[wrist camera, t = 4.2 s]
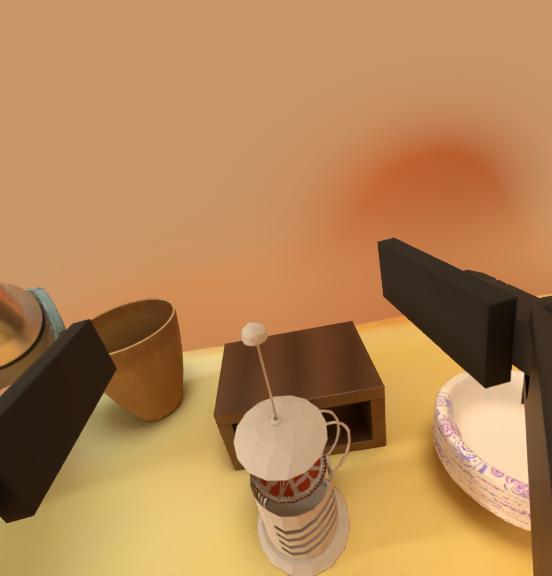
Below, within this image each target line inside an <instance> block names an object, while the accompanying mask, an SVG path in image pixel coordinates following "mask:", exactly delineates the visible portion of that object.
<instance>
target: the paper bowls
mask: <svg viewBox="0 0 552 576" xmlns="http://www.w3.org/2000/svg"><path fill="white" fill-rule="evenodd" d="M523 379H524V372H522V371H517V370H512V371H511V382H508V383H504V384H501V385H497V386H494V387H490V388H486V389H485V388H484V387H483V386H482V385H480V384H479V383H478V382H477V381H476V380H475V379H474V378H473V377H472V376H471V375H469V374H468V373H467V372H466V371H465V372H462V373H459V374H457V375H455V376H453V377H452V378H450V379H449V380H448V381H447V382H446V383H445V384H444V385H443V386H442V388H441V389H440V391H439V393H438V395H437V397H436V402H435V412H434V419H433V439H434V444H435V448H436V451H437V454H438V456H439V458H440V460H441V462H442V464H443V465H444V467H445V469H446V470H447V472H448V473H449V475H450V476H451V477H452V479H453V480H454V481H455V482H456V483H457V484H458V485H459V487H461V488H462V489H463V490H464V491H465V492H466V493H467V494H468V495H469V496H470V497H471V498H472V499H474V500H475V501H476V502H477V503H478V504H480V505H481V506H483V507H484V508H486V509H487V510H489V511H490V512H492V513H494V514H495V515H496V516H498V517H500V518H502V519H503V520H505V521H507V522H509V523H511V524H513V525H515V526H517V527H520V528H522V529H525V530H528V531H531V519H530V501H529V483H528V464H527V446H526V427H525V409H524V404H521V398H522V389H523Z"/></svg>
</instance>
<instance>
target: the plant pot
mask: <svg viewBox="0 0 552 576" xmlns="http://www.w3.org/2000/svg"><path fill="white" fill-rule="evenodd" d="M91 322H92V324H93V325H94V327H95V329H96V331H97V333H98V335H99V336H100V338H101V340H102V342H103V344H104V346H105V347H106V349H107V351H108V353H109V355H110V357H111V358H112V360H113V362H114V364H115V366H116V368H117V370H116V372H115V373H114V375H113V377H112V379H111V380H110V382H109V384H108V386H107V387H106V389H105V391H104V393H106V394H107V395H108V396H109V397H110V398H111V399H113V400H114V401H115V402H116V403H118V404H119V405H120V406H122V407H123V408H124V409H126V410H127V411H129V412H130V413H132V414H133V415H135V416H137V417H138V418H140V419H141V420H144V421H155V420H159V419H161V418H163V417H165V416H167V415H169V414H170V413H171V412H173V411H174V410H175V409H176V408H177V406H178V405H179V404H180V402H181V399H182V393H183V355H182V344H181V337H180V331H179V325H178V320H177V315H176V310H175V306H174V304H173V303H172V302H171V301H169V300H165V299H160V298H149V299H142V300H137V301H132V302H129V303H126V304H122V305H120V306H117V307H114V308H112V309H109V310H107V311H105V312H103V313H101V314H99V315H98V316H96V317H94V318H92V319H91Z"/></svg>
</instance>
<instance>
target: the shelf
mask: <svg viewBox="0 0 552 576" xmlns="http://www.w3.org/2000/svg"><path fill="white" fill-rule="evenodd" d="M259 347H260V351H261V355H262V359H263V363H264V366H265V370H266V374H267V378H268V382H269V386H270V390H271V394H272V397H276V396H290V395H291V396H295V397H299V398H303V399H306V400H307V401H309V402H310V403H312V404H313V405H314V406H316V407H317V408H318V409H319V410H330V411H332V412H333V413H334V414H335V415H336V416H337V418H338V419H339V422H343V423H344V424H345V425H347V426H348V428H349V430H350V437H351V443H350V448H349V451H355V450H361V449H367V448H374V447H380V446H386V423H385V391H384V385H383V383H382V381H381V379H380V377H379V374H378V372H377V370H376V368H375V366H374V364H373V362H372V360H371V358H370V356H369V354H368V352H367V350H366V348H365V346H364V344H363V342H362V340H361V338H360V336H359V334H358V332H357V330H356V328H355V326H354V324H353V322H352V321H350V322H344V323H338V324H333V325H327V326H322V327H316V328H311V329H305V330H300V331H294V332H289V333H283V334H278V335H272V336H268V338H267V339H266V341H264V342H263V343H261V344H259ZM267 399H270V395H269V392H268V388H267V384H266V380H265V376H264V372H263V368H262V365H261V361H260V357H259V353H258V349H257V345H256V346H248V345H246V344H244V343H243V341H239V342H233V343H228V344H225V346H224V353H223V359H222V366H221V372H220V379H219V385H218V392H217V398H216V405H215V411H214V418H215V420H216V423H217V425H218V428H219V431H220V433H221V436H222V438H223V441H224V443H225V446H226V448H227V451H228V453H229V456H230V459H231V461H232V464H233V466H234V469H235V470H241V469H245V468H244V467H243V465H242V464H241V463H240V462H239V460H238V459H237V455H236V451H235V446H234V438H235V434H236V429H237V426H238V424H239V423H240V421H241V420H242V418H243V417H244V415H245V414H246V413H247V412H248V411H249V410H250V409H252V408H253V407H254V406H255V405H257V404H258V403H259V402H262V401H265V400H267ZM321 414H322V416H323V417H324V419H325V421H326V423H327V422H331V421H336V419H335V418H334V416H333V415H332V414H330V413H325V412H322V413H321ZM339 425H340V424H339ZM326 428H327V438H328V439H327V442H326V444H325V447H324V450H325V452H326V454H327V453H328V452H329V451H330V450H331V448H332V446H333V444H334V443H335V440H336V436H337V424H331V425H327V426H326ZM347 445H348V432H347V431H346V429H345V427H343V426H342V425H340V433H339V438H338V441H337V443H336V445H335V447H334V449H333V450H332V452H331V453H330V454H329V455H331V454H337V453H343V452H346V448H347ZM349 451H348V452H349Z"/></svg>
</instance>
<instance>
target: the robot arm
mask: <svg viewBox="0 0 552 576" xmlns="http://www.w3.org/2000/svg"><path fill="white" fill-rule="evenodd" d="M378 251H379V261H380V270H381V279H382V288H383V296H384V297H385V298H386V299H387V300H388V301H389V302H390V303H391V304H392V305H394V306H395V307H396V308H397V309H398V310H399V311H400V312H401V313H402V314H403V315H404V316H406V317H407V318H408V319H409V320H410V321H411V322H412V323H413V324H414V325H415V326H417V327H418V328H419V329H420V330H421V331H422V332H423V333H424V334H425V335H427V336H428V337H429V338H430V339H431V340H432V341H433V342H434V343H435V344H436V345H438V346H439V347H440V348H441V349H442V350H443V351H444V352H445V353H446V354H447V355H449V356H450V357H451V358H452V359H453V360H454V361H455V362H456V363H457V364H458V365H460V366H461V367H462V368H463V369H464V370H465V371H466V372H467V373H468V374H469V375H471V376H472V377H473V378H474V379H475V380H476V381H477V382H478V383H479V384H480V385H482V386H483V387H484V388H485V389H486V388H490V387H494V386H497V385H501V384H504V383H508V382H511V371H512V364H513V365H514V366H515V367H517V368H518V369H519V370H521V371H522V372H524V379H523V389H522V398H521V404H524V409H525V427H526V446H527V464H528V483H529V501H530V519H531V538H532V556H533V575H534V576H552V296H547V297H542V298H538V297H536V296H533V295H531V294H529V293H527V292H524V291H522V290H520V289H518V288H516V287H513V286H511V285H509V284H508V285H506V283H504V282H502V281H500V280H496V278H493V277H491V276H489V275H487V274H484V273H480V272H476V271H471V270H465V271H462V270H460V269H458V268H456V267H454V266H452V265H450V264H448V263H446V262H443V261H442V260H439V259H437V258H435V257H433V256H431V255H429V254H427V253H425V252H423V251H421V250H419V249H416V248H414V247H412V246H410V245H408V244H406V243H404V242H402V241H400V240H398V239H396V238H391V239H387V240H383V241H379V242H378ZM116 370H117V368H116V366H115V364H114V362H113V360H112V358H111V357H110V355H109V353H108V351H107V349H106V347H105V346H104V344H103V342H102V340H101V338H100V336H99V335H98V333H97V331H96V329H95V327H94V325H93V324H92V322H91V320H90V319H88V320H84V321H81V322H77V323H73V324H72V325H71V326H70V327H69V328H68V329H67V330H66V328H65V325H64V323H63V321H62V319H61V317H60V314H59V312H58V310H57V308H56V307H55V305H54V303H53V301H52V299H51V297H50V296H49V294H48V293H47V292H46V291H45V290H44V289H43V288H40V287H37V288H33V289H26V290H24V289H22V288H19V287H17V286H14V285H11V284H6V283H0V390H1V389H3V388H5V387H7V386H9V385H11V384H12V385H11V386H10V387H9V388H8V389H7V390H6V391H5V392H4V393H3V394H2V395H1V396H0V517H1V518H2V519H3V520H4V521H5V522H6V523H10V522H13V521H17V520H20V519H24V518H27V517H31V516H34V515H35V513H36V511H37V509H38V508H39V506H40V504H41V502H42V500H43V499H44V497H45V495H46V493H47V492H48V490H49V488H50V486H51V485H52V483H53V481H54V479H55V478H56V476H57V474H58V472H59V470H60V469H61V467H62V465H63V463H64V462H65V460H66V458H67V456H68V455H69V453H70V451H71V449H72V447H73V446H74V444H75V442H76V440H77V439H78V437H79V435H80V433H81V432H82V430H83V428H84V426H85V425H86V423H87V421H88V419H89V417H90V416H91V414H92V412H93V410H94V409H95V407H96V405H97V403H98V402H99V400H100V398H101V396H102V395H103V393H104V391H105V389H106V387H107V386H108V384H109V382H110V380H111V379H112V377H113V375H114V373H115V372H116Z"/></svg>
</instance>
